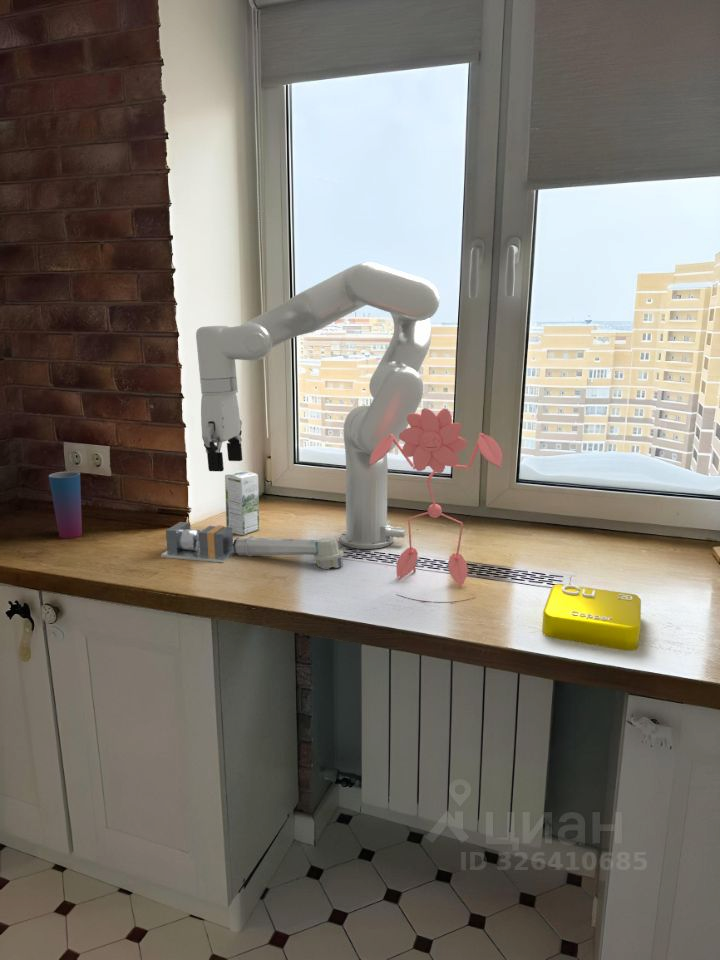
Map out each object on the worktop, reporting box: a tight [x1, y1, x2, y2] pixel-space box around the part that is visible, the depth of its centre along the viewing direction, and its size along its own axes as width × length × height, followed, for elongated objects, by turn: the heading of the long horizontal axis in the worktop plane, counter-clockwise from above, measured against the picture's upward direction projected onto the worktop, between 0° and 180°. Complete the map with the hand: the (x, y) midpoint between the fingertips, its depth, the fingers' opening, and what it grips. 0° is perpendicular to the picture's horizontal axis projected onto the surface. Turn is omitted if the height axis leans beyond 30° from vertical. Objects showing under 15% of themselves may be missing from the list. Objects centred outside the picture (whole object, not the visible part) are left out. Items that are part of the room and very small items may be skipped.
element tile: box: [541, 583, 642, 652], centre depth 115 cm, size 15×15×5 cm
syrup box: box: [224, 470, 260, 536], centre depth 164 cm, size 6×6×14 cm
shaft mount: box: [160, 521, 236, 564], centre depth 150 cm, size 15×9×6 cm, turn 76°
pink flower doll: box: [370, 407, 503, 605], centre depth 127 cm, size 15×26×35 cm, turn 70°
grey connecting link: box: [233, 535, 345, 570], centre depth 145 cm, size 5×7×25 cm
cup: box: [48, 470, 83, 539], centre depth 161 cm, size 7×7×15 cm
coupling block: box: [199, 525, 234, 557], centre depth 149 cm, size 6×5×5 cm
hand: (226, 465), depth 146 cm, fingers open, 9 cm apart
